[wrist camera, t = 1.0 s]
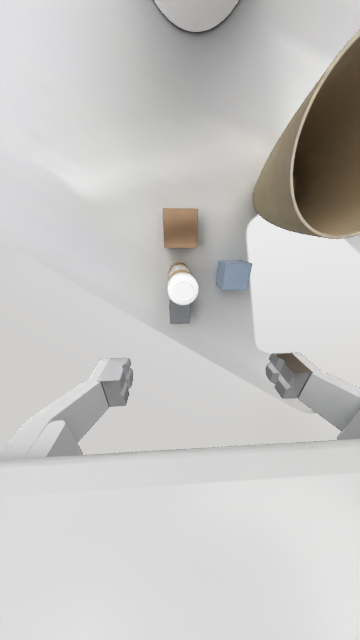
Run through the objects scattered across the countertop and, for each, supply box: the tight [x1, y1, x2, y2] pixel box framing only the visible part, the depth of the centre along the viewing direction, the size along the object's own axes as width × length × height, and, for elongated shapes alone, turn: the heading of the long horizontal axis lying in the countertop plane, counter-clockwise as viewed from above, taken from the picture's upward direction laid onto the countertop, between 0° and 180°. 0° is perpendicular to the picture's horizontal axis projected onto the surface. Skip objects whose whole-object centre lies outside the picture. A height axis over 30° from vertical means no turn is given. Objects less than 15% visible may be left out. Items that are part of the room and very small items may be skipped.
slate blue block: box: [216, 261, 252, 290], centre depth 32 cm, size 5×5×5 cm
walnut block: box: [163, 208, 198, 248], centre depth 27 cm, size 6×6×6 cm
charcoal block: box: [169, 299, 191, 324], centre depth 35 cm, size 4×4×4 cm
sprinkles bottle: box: [167, 263, 199, 305], centre depth 27 cm, size 5×5×14 cm
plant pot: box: [253, 30, 360, 239], centre depth 21 cm, size 15×15×16 cm
